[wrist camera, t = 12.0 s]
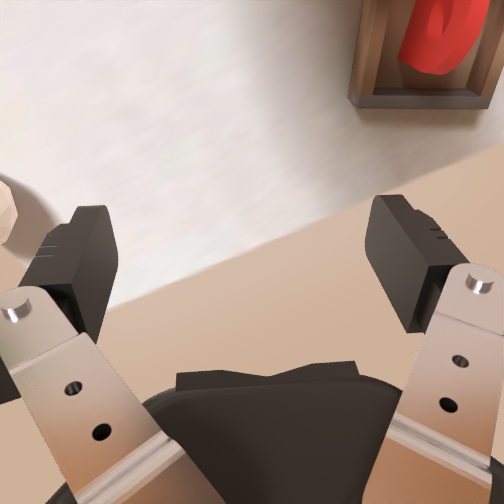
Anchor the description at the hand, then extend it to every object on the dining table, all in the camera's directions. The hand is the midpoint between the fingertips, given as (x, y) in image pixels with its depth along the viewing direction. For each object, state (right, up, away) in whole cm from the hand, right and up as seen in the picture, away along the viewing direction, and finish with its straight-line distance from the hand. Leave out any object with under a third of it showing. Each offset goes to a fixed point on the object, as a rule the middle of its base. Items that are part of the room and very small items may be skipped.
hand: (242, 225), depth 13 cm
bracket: (+15, +20, +18) cm, 31 cm away
